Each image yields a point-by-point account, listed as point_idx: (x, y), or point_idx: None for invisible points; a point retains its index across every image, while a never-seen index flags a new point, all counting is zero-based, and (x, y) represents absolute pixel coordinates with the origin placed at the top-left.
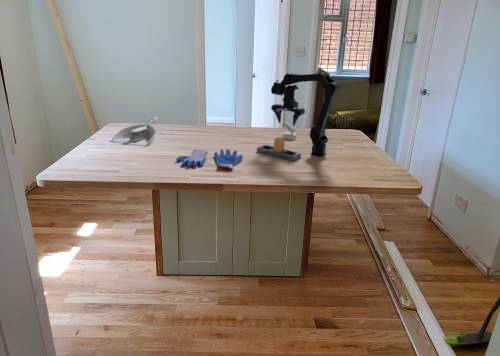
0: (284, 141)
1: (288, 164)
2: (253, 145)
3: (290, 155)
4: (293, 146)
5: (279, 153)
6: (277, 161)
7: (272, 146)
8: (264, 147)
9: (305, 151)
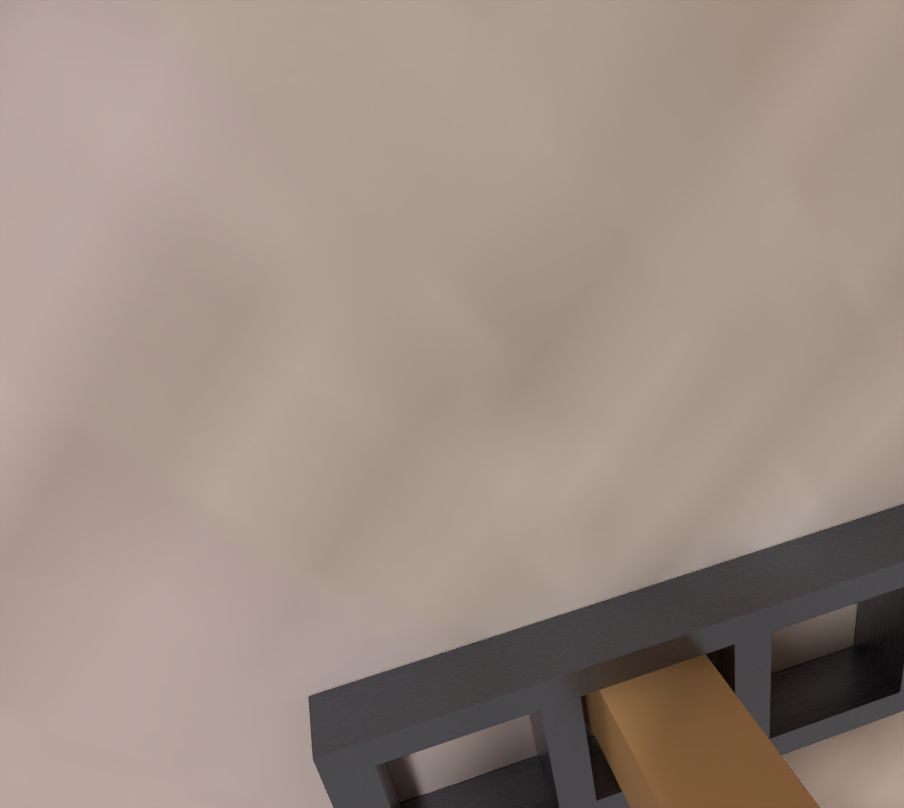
0: (809, 797)
1: (889, 736)
2: (43, 764)
3: (888, 705)
4: (507, 166)
5: None
6: None
7: (473, 714)
8: (386, 784)
9: (841, 215)
